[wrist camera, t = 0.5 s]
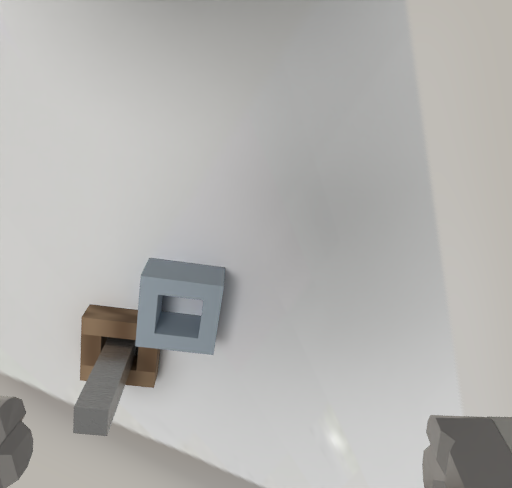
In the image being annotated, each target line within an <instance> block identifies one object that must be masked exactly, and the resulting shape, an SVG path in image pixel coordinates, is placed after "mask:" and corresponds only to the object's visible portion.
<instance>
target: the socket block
mask: <svg viewBox="0 0 512 488" xmlns="http://www.w3.org/2000/svg"><path fill="white" fill-rule="evenodd" d="M137 318H138V310H132V309H123V308H115V307H106V306H98V305H89V307H88V308H87V310H86V311H85V313H84V315H83V316H82V328H81V366H80V380H83V381H87V379H88V377H89V375H90V373H91V371H92V369H93V367H94V365H95V363H96V361H97V359H98V357H99V355H100V353H101V351H102V349H103V347H104V345H105V343H106V341H107V337H112V338H121V339H130V340H136V330H137ZM159 356H160V349H155V348H146V347H138V356H137V355H136V356H135V359H134V361H133V364H132V367H131V370H130V373H129V375H128V378H127V381H126V384H125V385H133V386H142V387H152V388H154V385H155V381H156V377H157V373H158V365H159Z"/></svg>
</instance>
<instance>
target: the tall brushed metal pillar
mask: <svg viewBox="0 0 512 488" xmlns="http://www.w3.org/2000/svg"><path fill="white" fill-rule="evenodd" d="M135 343H136V340H130V339H121V338H112V337H108V339H107V341H106V343H105V345H104V347H103V349H102V351H101V353H100V355H99V357H98V359H97V361H96V363H95V365H94V367H93V369H92V371H91V373H90V375H89V377H88V379H87V382H86V384H85V386H84V388H83V390H82V392H81V394H80V396H79V398H78V400H77V402H76V404H75V406H74V430H73V432H74V433H79V434H90V435H102V436H107V434H108V431H109V429H110V426H111V423H112V420H113V417H114V415H115V412H116V409H117V406H118V403H119V401H120V398H121V395H122V392H123V389H124V387H125V384H126V381H127V378H128V375H129V373H130V370H131V367H132V364H133V361H134V359H135V356H136V353H137V346H135Z"/></svg>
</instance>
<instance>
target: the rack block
mask: <svg viewBox="0 0 512 488" xmlns="http://www.w3.org/2000/svg"><path fill="white" fill-rule="evenodd" d="M224 276H225V268H223V267H215V266H208V265H200V264H193V263H185V262H177V261H170V260H162V259H155V258H149V260H148V262H147V264H146V266H145V268H144V270H143V272H142V274H141V280H140V292H139V305H138V318H137V330H136V343H135V346H137V347H146V348H155V349H164V350H173V351H182V352H192V353H201V354H210V355H213V354H214V347H215V341H216V335H217V328H218V322H219V315H220V309H221V302H222V296H223V290H224ZM163 295H165V296H173V297H181V298H189V299H197V300H204V301H203V308H202V315H201V316H197V315H189V314H180V313H172V312H164V311H161V309H162V299H163Z"/></svg>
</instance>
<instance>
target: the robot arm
mask: <svg viewBox="0 0 512 488" xmlns="http://www.w3.org/2000/svg"><path fill="white" fill-rule="evenodd" d="M25 414H26V411H25V408H24V405H23V401H22V400H21V399H19V398H16V397H10V396H0V488H7V487H8V486H10V485H11V484H13V483H14V482H16V481H17V480H19V478H20V477H21V475H22V474H23V472H24V471H25V469H26V468H27V466H28V464H29V461H30V458H31V455H32V452H33V438H32V433H31V430H30V429H29V428H28V427H27V426H26V425H25V424H24V423H23V422H22V419H23V417H24V416H25ZM426 433H427V436H428V439H429V441H430V444H431V445H430V446H428V447H427V448H426V449H425V450H424V454H423V464H422V467H423V482H424V487H425V488H512V417H469V416H468V417H467V416H442V415H430V417H429V419H428V423H427V430H426Z"/></svg>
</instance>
